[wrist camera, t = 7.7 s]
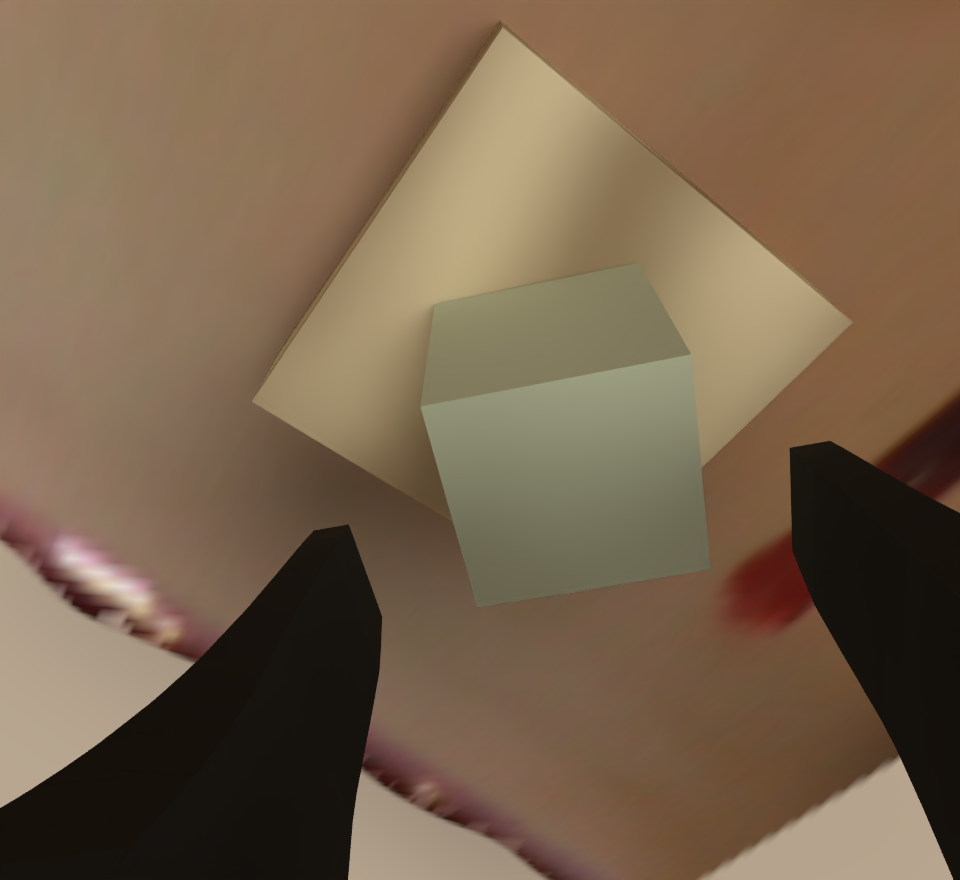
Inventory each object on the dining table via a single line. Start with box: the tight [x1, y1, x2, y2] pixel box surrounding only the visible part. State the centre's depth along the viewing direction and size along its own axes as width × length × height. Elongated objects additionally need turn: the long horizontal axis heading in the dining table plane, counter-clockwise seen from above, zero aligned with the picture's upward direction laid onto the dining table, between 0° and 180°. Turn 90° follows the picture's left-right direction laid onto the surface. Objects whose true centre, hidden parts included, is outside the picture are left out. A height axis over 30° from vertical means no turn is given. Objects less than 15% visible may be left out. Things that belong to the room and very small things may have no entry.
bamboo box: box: [252, 21, 853, 594], centre depth 20 cm, size 10×10×4 cm
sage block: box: [420, 263, 711, 608], centre depth 17 cm, size 5×5×5 cm
